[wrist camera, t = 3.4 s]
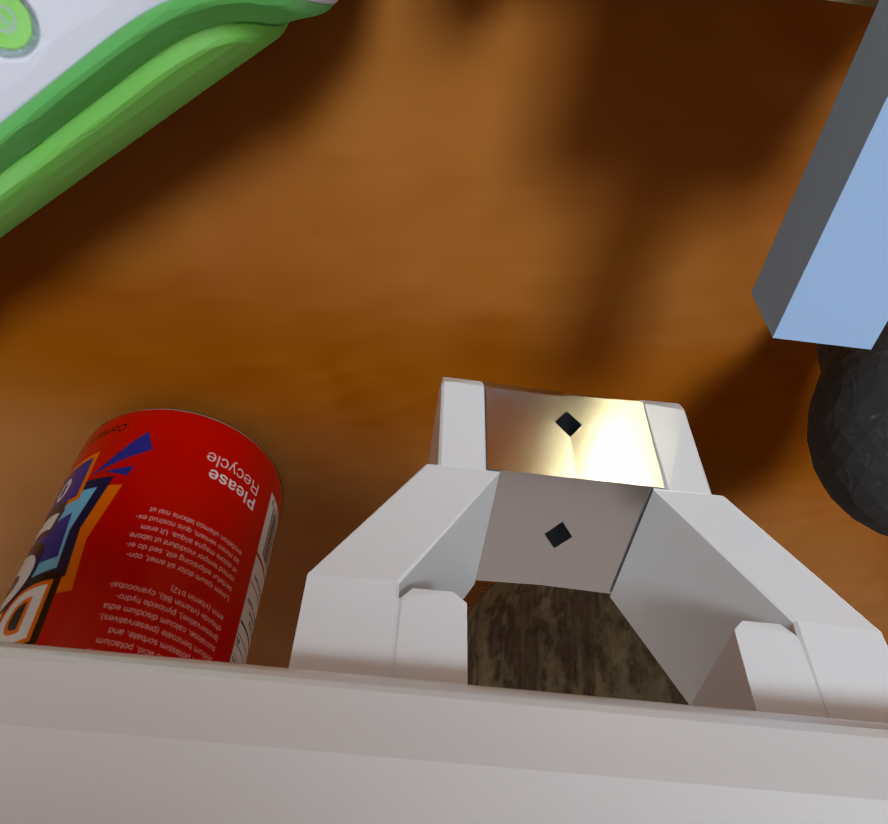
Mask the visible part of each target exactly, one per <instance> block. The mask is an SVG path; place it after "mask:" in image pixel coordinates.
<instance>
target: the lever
mask: <svg viewBox="0 0 888 824" xmlns="http://www.w3.org/2000/svg"><path fill="white" fill-rule="evenodd" d="M752 295H753V297H754V299H755V302H756V304H757V306H758V308H759V310H760V312H761V314H762V316H763V319H764V321H765V323H766V325H767V327H768V329H769V331H770V334H771V336H772V338H778V339H786V340H795V341H803V342H811V343H820V344H828V345H836V346H845V347H853V348H862V349H870V350H871V349H872V347H873V345H874V344H875V342H876V340H877V338H878V337H879V335H880V333H881V332H882V330H883V328H884V326H885V325H886V323H887V321H888V0H879V2H878V4H877V6H876V9H875V11H874V13H873V16H872V18H871V20H870V23H869V25H868V27H867V29H866V32H865V34H864V36H863V39H862V41H861V43H860V45H859V48H858V50H857V52H856V55H855V57H854V59H853V61H852V64H851V66H850V68H849V71H848V73H847V75H846V78H845V80H844V82H843V84H842V87H841V89H840V91H839V94H838V96H837V98H836V100H835V103H834V105H833V107H832V110H831V112H830V114H829V116H828V119H827V121H826V123H825V126H824V128H823V130H822V132H821V135H820V137H819V139H818V142H817V144H816V146H815V149H814V151H813V153H812V155H811V158H810V160H809V162H808V165H807V167H806V169H805V171H804V174H803V176H802V178H801V181H800V183H799V185H798V187H797V190H796V192H795V194H794V197H793V199H792V201H791V204H790V206H789V208H788V210H787V213H786V215H785V217H784V220H783V222H782V224H781V226H780V229H779V231H778V233H777V236H776V238H775V240H774V242H773V245H772V247H771V249H770V252H769V254H768V256H767V258H766V261H765V263H764V265H763V268H762V270H761V272H760V275H759V277H758V279H757V281H756V284H755V286H754V288H753V291H752Z"/></svg>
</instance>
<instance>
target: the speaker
mask: <svg viewBox="0 0 888 824" xmlns="http://www.w3.org/2000/svg"><path fill="white" fill-rule="evenodd" d="M337 1H339V0H0V238H1V237H2V236H4V235H5V234H6V233H8V232H9V231H11V230H12V229H13V228H15V227H16V226H17V225H19V224H20V223H22V222H23V221H24V220H26V219H27V218H28V217H30V216H31V215H33V214H34V213H35V212H37V211H38V210H39V209H41V208H42V207H44V206H45V205H46V204H48V203H49V202H50V201H52V200H53V199H55V198H56V197H57V196H59V195H60V194H61V193H63V192H64V191H66V190H67V189H68V188H70V187H71V186H72V185H74V184H75V183H77V182H78V181H79V180H81V179H82V178H84V177H85V176H86V175H88V174H89V173H90V172H92V171H93V170H95V169H96V168H97V167H99V166H100V165H101V164H103V163H104V162H106V161H107V160H108V159H110V158H111V157H113V156H114V155H116V154H117V153H118V152H120V151H121V150H123V149H124V148H125V147H127V146H128V145H130V144H131V143H132V142H134V141H135V140H137V139H138V138H139V137H141V136H142V135H144V134H145V133H146V132H148V131H149V130H150V129H152V128H153V127H155V126H156V125H157V124H159V123H160V122H162V121H163V120H164V119H166V118H167V117H169V116H170V115H171V114H173V113H174V112H176V111H177V110H178V109H180V108H181V107H182V106H184V105H185V104H187V103H188V102H189V101H191V100H192V99H194V98H195V97H196V96H198V95H199V94H201V93H202V92H203V91H205V90H206V89H208V88H209V87H210V86H212V85H213V84H215V83H216V82H217V81H219V80H220V79H222V78H223V77H225V76H226V75H227V74H229V73H230V72H232V71H233V70H234V69H236V68H237V67H239V66H240V65H241V64H243V63H244V62H246V61H247V60H249V59H250V58H251V57H253V56H254V55H256V54H257V53H258V52H260V51H261V50H263V49H264V48H265V47H267V46H268V45H270V44H271V43H273V42H274V41H275V40H277V39H278V38H279V37H280V36H281V35H282V34H283V33H284V32H285V30H286V28H287V26H288V24H289V22H291V21H295V20H299V19H304V18H309V17H313V16H318V15H321V14H323V13H325V12H327V11H328V10H329V9H330V8H331V7H332V6H333V5H334V4H335V3H336V2H337Z"/></svg>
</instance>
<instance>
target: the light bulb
mask: <svg viewBox="0 0 888 824" xmlns="http://www.w3.org/2000/svg"><path fill="white" fill-rule="evenodd" d="M817 345H818V346H817V356H818V361H819V365H820V369H821V373H820V377H819V380H818V383H817V385H816V388H815V391H814V394H813V396H812V399H811V402H810V407H809V412H808V434H807V441H808V445H809V450H810V454H811V458H812V462H813V467H814V470H815V472H816V473H817V475H818V477H819V479H820V481H821V483H822V484H823V486H824V488H825V489H826V491H827V492H828V494H829V495H830V497H831V498H832V499H833V500H834V501H835V502H836V503H837V504H838V505H839V506H840V507H841V508H842V509H843V510H844V511H845V512H846V513H847V514H849V515H850V516H851V517H852V518H853V519H855V520H856V521H858V522H860V523H862V524H864V525H865V526H867V527H869V528H871V529H872V530H874V531H876V532H878V533H880V534H883V535H886V536H888V321H887V323H886V325H885V326H884V328H883V330H882V332H881V333H880V335H879V337H878V338H877V340H876V342H875V344H874V345H873V347H872V349H871V350H870V349H862V348H853V347H845V346H836V345H828V344H820V343H817Z"/></svg>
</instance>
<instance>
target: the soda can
mask: <svg viewBox="0 0 888 824" xmlns="http://www.w3.org/2000/svg"><path fill="white" fill-rule="evenodd" d="M281 506H282V486H281V481H280V478H279V475H278V473H277V471H276V469H275V467H274V465H273V464H272V462H271V460H270V459H269V458H268V456H267V455H266V454H265V452H264V451H263V450H262V449H261V448H260V447H259V446H258V445H257V444H256V443H255V442H253V441H252V440H251V439H250V438H248V437H247V436H246V435H244V434H243V433H241V432H240V431H238V430H237V429H235V428H233V427H231V426H229V425H227V424H225V423H223V422H221V421H219V420H216V419H214V418H211V417H208V416H205V415H202V414H198V413H194V412H190V411H184V410H177V409H146V410H139V411H134V412H130V413H127V414H124V415H121V416H118V417H116V418H114V419H112V420H110V421H108V422H106V423H105V424H103V425H102V426H101V427H99V428H98V429H97V430H96V431H95V432H94V433H93V434H92V436H91V437H90V438H89V440H88V441H87V442H86V444H85V445H84V447H83V449H82V451H81V452H80V454H79V456H78V458H77V460H76V462H75V464H74V466H73V467H72V469H71V471H70V473H69V475H68V477H67V479H66V481H65V483H64V485H63V487H62V489H61V491H60V493H59V495H58V497H57V499H56V501H55V503H54V504H53V506H52V508H51V510H50V512H49V514H48V516H47V518H46V520H45V522H44V524H43V526H42V528H41V530H40V532H39V534H38V536H37V538H36V540H35V541H34V543H33V545H32V547H31V549H30V551H29V553H28V555H27V557H26V559H25V561H24V563H23V565H22V567H21V569H20V571H19V573H18V575H17V577H16V578H15V580H14V582H13V584H12V586H11V588H10V590H9V592H8V594H7V596H6V598H5V600H4V602H3V604H2V606H1V608H0V641H1V642H12V643H23V644H34V645H44V646H55V647H66V648H77V649H88V650H99V651H109V652H120V653H131V654H142V655H153V656H164V657H174V658H185V659H196V660H207V661H218V662H229V663H240V664H246V660H247V656H248V651H249V647H250V643H251V638H252V634H253V630H254V625H255V621H256V617H257V612H258V608H259V604H260V599H261V595H262V591H263V586H264V582H265V578H266V573H267V569H268V565H269V560H270V556H271V552H272V547H273V543H274V539H275V534H276V530H277V526H278V521H279V517H280V512H281Z"/></svg>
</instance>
